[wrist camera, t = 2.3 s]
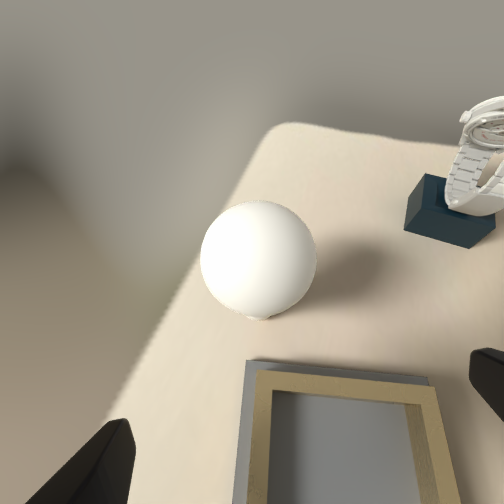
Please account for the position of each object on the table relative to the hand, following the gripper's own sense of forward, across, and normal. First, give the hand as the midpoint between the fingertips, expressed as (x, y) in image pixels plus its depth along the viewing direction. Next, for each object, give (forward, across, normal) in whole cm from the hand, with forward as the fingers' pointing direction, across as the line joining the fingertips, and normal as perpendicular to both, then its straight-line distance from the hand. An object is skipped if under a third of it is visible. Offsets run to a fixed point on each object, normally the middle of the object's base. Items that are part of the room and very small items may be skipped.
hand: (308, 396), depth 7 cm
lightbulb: (+14, 0, +4) cm, 15 cm away
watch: (+18, -18, 0) cm, 25 cm away
